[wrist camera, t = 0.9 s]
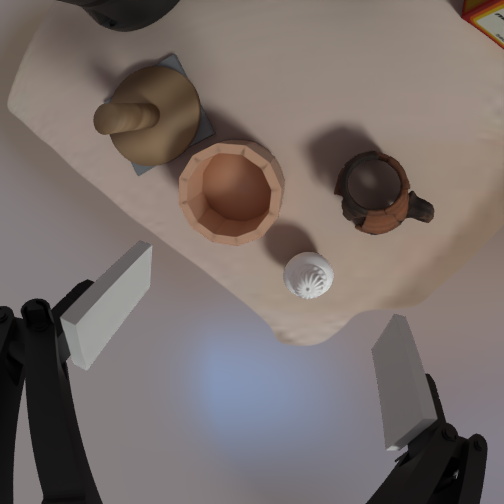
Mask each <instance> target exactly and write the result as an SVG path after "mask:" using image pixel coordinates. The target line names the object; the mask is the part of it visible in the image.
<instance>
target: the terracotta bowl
mask: <svg viewBox="0 0 504 504" xmlns="http://www.w3.org/2000/svg"><path fill="white" fill-rule="evenodd" d="M284 184H285V178H284V176H283V172H282V170H281V167H280V165H279V163H278V161H277V160H276V158H275V156H273V155H272V154H271V153H270V152H269V151H268V150H267V149H265V148H264V147H262V146H260V145H258V144H257V143H255V142H250V141H245V140H227V141H223V142H219V143H216V144H214V145H212V146H210V147H208V148H206V149H204V150H202V151H200V152H198V153H196V154H195V155H193V156H192V157H191V159H190V161H189V162H188V164H187V166H186V167H185V169H184V171H183V172H182V174H181V176H180V177H179V205H180V207H181V209H182V211H183V213H184V215H185V217H186V219H187V221H188V222H189V224H190V226H191V227H192V228H193V229H194V230H196V231H197V232H199V233H200V234H201V235H203V236H204V237H206V238H207V239H208V240H210V241H211V242H215V243H221V244H228V245H235V246H239V245H242V244H244V243H247V242H250V241H253V240H255V239H258V238H261V237H262V236H263V235H264V234H265V233H266V231H267V230H268V229H269V228H270V226H271V225H272V224H273V223H274V221H275V220H276V219H277V218H278V216H279V212H280V209H281V205H282V200H283V193H284Z"/></svg>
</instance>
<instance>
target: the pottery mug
mask: <svg viewBox="0 0 504 504" xmlns="http://www.w3.org/2000/svg"><path fill="white" fill-rule="evenodd" d="M377 159H378V160H382V161H385V162H387V163H388V164H389V165H390V166H391V167H392V168H393V169H394V170H395V171H396V172H397V174H398V176H399V179H400V183H401V190H400V193H399V196H398V198H397V199H396V201H395V202H394V203H393V204H391V205H390V206H389V207H386V208H384V209H380V210H371V209H366V208H364V207H362V206H360V205H359V204H357V203H356V202H355V201H354V200H353V198H352V197H351V195H350V193H349V191H348V178H349V175H350V173H351V171H352V170H353V169H354V168H355V167H356V166H357V165H359V164H360V163H362V162H364V161H368V160H377ZM408 189H410V184H409V181H408V179H407V176H406V173H405V171H404V169H403V167H402V166H401V165H400V163H399V162H398V161H397V160H395V159H394V158H393V157H391V156H390V157H389V156H388V155H386V154H382V153H377V152H375V151H369V152H365V153H361V154H358V155H357V156H355V157H354V158H352V159H351V160H349V161H348V162H347V163H346V164H345V167H344V168H343V169H342V170H341V171H340V173H339V176H338V180H337V184H336V187H335V190H334V194H337V195H340V196H342V197H343V200H342V209H343V215H344V217H345V218H346V219H347V220H349V221H351V220H352V219H356V218H360V217H365V220H364V223H363V225H362V226H361V225H359V224H357V225H356V226H355V228H356V229H358V230H359V231H361V232H365V233H368V234H371V235H378V234H383V233H387V232H388V231H391V230H393V229H395V228H396V227H398V226H399V225H400V224H401V223H402V221H404V220H405V218H414V219H417V220H419V221H422V222H426V223H429V222H430V221H431V220H432V219H433V217H434V208H433V205H432V204H431V203H429V202H427V201H426V200H423V199H421V198H419V197H418V196H417V195H416V194H415V192H414V191H411V192H410V193H409V194H408Z"/></svg>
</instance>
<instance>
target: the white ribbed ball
mask: <svg viewBox="0 0 504 504" xmlns="http://www.w3.org/2000/svg"><path fill="white" fill-rule="evenodd" d="M333 277H334V274H333V269H332V267H331V265H330V263H329V262H328V261H327V260H326V258H324V257H323V256H322V255H319V253H315V252H310V251H309V252H307V251H306V252H302V253H300V254H298V255H296V256H294V257H293V258H292V259H291V260H290V261H289V262H288V263H287V265H286V267H285V269H284V272H283V279H284V282H285V285H286V286H287V288H288V289H289V290H290V291H291V292H292V293H293V294H295V295H297V296H299V297H301V298H304V299H307V298H309V299H312V298H314V297H317V296H319V295H321V294H323V293H325V292H326V291H327V290H328V289H329V287H330V286H331V284H332V281H333Z"/></svg>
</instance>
